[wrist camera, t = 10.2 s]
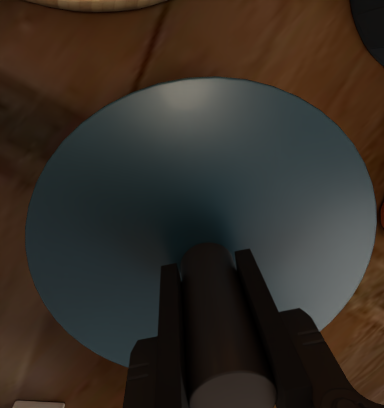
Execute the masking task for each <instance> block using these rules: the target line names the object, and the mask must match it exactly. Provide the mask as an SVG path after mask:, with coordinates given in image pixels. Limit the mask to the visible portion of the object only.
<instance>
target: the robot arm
mask: <svg viewBox="0 0 384 408" xmlns="http://www.w3.org/2000/svg"><path fill="white" fill-rule="evenodd" d="M234 253H235V260H236V267H237V272H238V275H239V278H240V281H241V284H242V287H243V290H244V293H245V296H246V298H247V301H248V304H249V307H250V310H251V313H252V316H253V319H254V322H255V325H256V328H257V331H258V334H259V337H260V340H261V343H262V345H263V348H264V351H265V354H266V357H267V360H268V363H269V366H270V369H271V372H272V375H273V378H274V381H275V384H276V387H277V394H278V397H277V401H276V408H384V405H381V404H377V403H375V402H372V401H370V400H368V399H366V398H365V397H363V396H362V395H360V394H359V393H358V392H357V391H356V390H355V389H354V388H353V387H352V386H351V384H350V383H349V381H348V380H347V378H346V376H345V375H344V373H343V371H342V369H341V368H340V366H339V364H338V362H337V361H336V359H335V357H334V356H333V354H332V352H331V350H330V349H329V347H328V345H327V343H326V342H325V341H324V338H323V337H322V335H321V333H320V332H319V330H318V328H317V326H316V324H315V323H314V321H313V319H312V318H311V316H309V315H308V314H307V313H306V312H304V311H303V310H302V309H301V308H296V309H291V310H286V311H281V312H279V311H278V309H277V307H276V305H275V302H274V300H273V298H272V296H271V294H270V291H269V289H268V287H267V285H266V283H265V280H264V278H263V276H262V274H261V272H260V269H259V267H258V265H257V263H256V261H255V258H254V256H253V254H252V252H251V250H250V248H249V249H244V250H239V251H234ZM123 408H189V405H188V390H187V372H186V354H185V336H184V318H183V301H182V283H181V278H180V275H179V271H178V267H177V263H173V264H168V265H163V266H161V274H160V295H159V317H158V336H156V337H151V338H146V339H140V340H137V342H136V344H135V346H134V347H133V349H132V351H131V353H130V360H129V369H128V375H127V382H126V389H125V396H124V403H123Z"/></svg>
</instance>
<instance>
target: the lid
mask: <svg viewBox="0 0 384 408" xmlns="http://www.w3.org/2000/svg"><path fill="white" fill-rule="evenodd" d="M376 226H377V214H376V200H375V195H374V190H373V185H372V182H371V179H370V176H369V174H368V171H367V168H366V166H365V163H364V161H363V160H362V158H361V156H360V154H359V153H358V151H357V149H356V148H355V146H354V144H353V143H352V142H351V140H350V139H349V138H348V137H347V136H346V134H345V133H344V132H343V131H342V130H341V128H340V127H339V126H338V125H337V124H336V123H334V122H333V121H332V120H331V119H330V118H329V117H327V116H326V115H325V114H324V113H323V112H322V111H321V110H319V109H317V108H316V107H314V106H313V105H311V104H309V103H308V102H306V101H305V100H303V99H301V98H300V97H298V96H296V95H293V94H291V93H288V92H286V91H284V90H281V89H279V88H276V87H274V86H271V85H267V84H263V83H259V82H255V81H251V80H247V79H237V78H227V77H217V76H213V77H191V78H183V79H177V80H172V81H167V82H162V83H157V84H155V85H152V86H149V87H146V88H143V89H140V90H137V91H134V92H131V93H129V94H128V95H126V96H124V97H122V98H120V99H118V100H116V101H114V102H112V103H110V104H108V105H106V106H104V107H103V108H102V109H100V110H99V111H97V112H96V113H95V114H93V115H92V116H90V117H89V118H88V119H86V120H85V121H83V122H82V123H81V124H80V125H79V126H78V127H77V128H76V129H75V130H74V131H73V132H72V133H71V134H70V135H69V136H68V137H67V138H66V139H65V140H64V141H63V142H62V143H61V144H60V145H59V147H58V148H57V150H56V151H55V152H54V154H53V155H52V156H51V158H50V159H49V160H48V162H47V163H46V165H45V167H44V169H43V171H42V173H41V175H40V177H39V179H38V180H37V182H36V185H35V188H34V191H33V194H32V197H31V200H30V203H29V206H28V213H27V219H26V226H25V247H26V254H27V260H28V266H29V270H30V273H31V276H32V279H33V282H34V285H35V287H36V289H37V291H38V293H39V295H40V297H41V299H42V301H43V303H44V304H45V306H46V307H47V308H48V310H49V311H50V313H51V314H52V315H53V317H54V318H55V319H56V321H57V322H58V323H59V324H60V325H61V326H62V327H63V328H64V329H65V330H66V331H67V332H68V333H69V334H70V335H71V336H73V337H74V338H75V339H76V340H77V341H79V342H80V343H81V344H82V345H84V346H86V347H87V348H89V349H90V350H92V351H93V352H95V353H96V354H98V355H100V356H102V357H104V358H106V359H108V360H110V361H112V362H114V363H117V364H120V365H122V366H125V367H128V368H129V360H130V353H131V351H132V349H133V347H134V346H135V344H136V342H137V340H140V339H146V338H151V337H156V336H158V317H159V295H160V274H161V266H163V265H168V264H173V263H177V267H178V271H179V275H180V278H181V283H182V301H183V318H184V336H185V354H186V372H187V390H188V405H189V408H273V407H274V406H275V404H276V401H277V397H278V394H277V387H276V384H275V381H274V378H273V375H272V372H271V369H270V366H269V363H268V360H267V357H266V354H265V351H264V348H263V345H262V343H261V340H260V337H259V334H258V331H257V328H256V325H255V322H254V319H253V316H252V313H251V310H250V307H249V304H248V301H247V298H246V296H245V293H244V290H243V287H242V284H241V281H240V278H239V275H238V272H237V267H236V260H235V253H234V251H239V250H244V249H249V248H250V250H251V252H252V254H253V256H254V258H255V261H256V263H257V265H258V267H259V269H260V272H261V274H262V276H263V278H264V280H265V283H266V285H267V287H268V289H269V291H270V294H271V296H272V298H273V300H274V302H275V305H276V307H277V309H278V311H279V312H281V311H286V310H291V309H296V308H301V309H302V310H303V311H304V312H306V313H307V314H308V315H309V316H311V318H312V319H313V321H314V323H315V324H316V326H317V328H318V330H319V332H320V331H321V330H322V329H323V328H324V327H325V326H326V325H328V324H329V323H330V322H331V321H332V320H333V319H334V318H335V316H336V315H337V314H338V313H339V312H340V311H341V310H342V309H343V307H344V306H345V305H346V303H347V302H348V301H349V299H350V298H351V297H352V295H353V294H354V292H355V290H356V289H357V287H358V285H359V283H360V282H361V280H362V278H363V276H364V273H365V271H366V269H367V266H368V264H369V261H370V258H371V254H372V250H373V247H374V243H375V235H376Z"/></svg>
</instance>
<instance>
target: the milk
mask: <svg viewBox="0 0 384 408" xmlns="http://www.w3.org/2000/svg"><path fill="white" fill-rule="evenodd" d="M64 406H65V403H56V402H36V401H15V403H14V405H13V407H12V408H64Z"/></svg>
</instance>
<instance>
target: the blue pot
mask: <svg viewBox="0 0 384 408" xmlns="http://www.w3.org/2000/svg"><path fill="white" fill-rule="evenodd" d="M350 3H351V9H352V14H353V18H354V21H355V24H356V27H357V30H358V33H359V35H360V37H361V39H362V41H363V43H364V45H365V46H366V47H367V49H368V50H369V52H370V53H371V55H372V56H373V57H374V58H375V59H376V60H377V61H378V62H379V63H380V64H381V65H383V66H384V0H350Z"/></svg>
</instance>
